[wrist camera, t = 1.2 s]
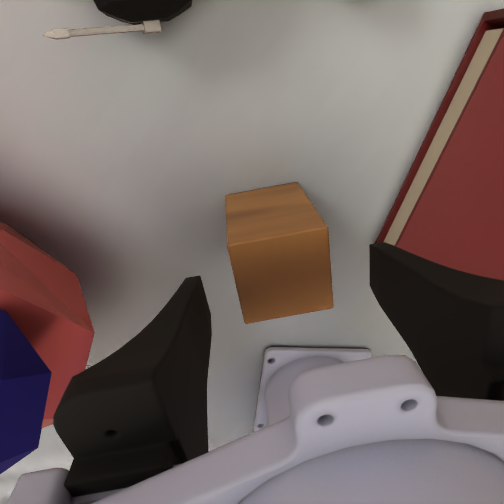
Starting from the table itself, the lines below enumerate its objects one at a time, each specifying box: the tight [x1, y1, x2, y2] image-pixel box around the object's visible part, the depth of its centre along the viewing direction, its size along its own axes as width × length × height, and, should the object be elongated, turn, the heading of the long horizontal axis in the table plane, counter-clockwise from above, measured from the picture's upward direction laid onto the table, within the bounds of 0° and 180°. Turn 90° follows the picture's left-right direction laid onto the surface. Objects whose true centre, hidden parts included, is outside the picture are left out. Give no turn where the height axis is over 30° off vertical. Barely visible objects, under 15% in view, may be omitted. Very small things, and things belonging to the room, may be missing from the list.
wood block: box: [226, 182, 334, 324], centre depth 18 cm, size 4×4×6 cm
